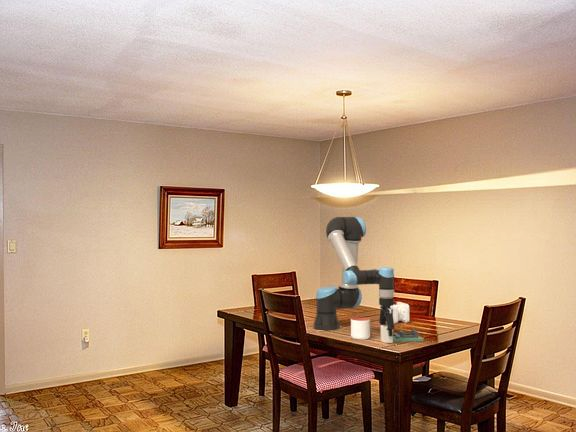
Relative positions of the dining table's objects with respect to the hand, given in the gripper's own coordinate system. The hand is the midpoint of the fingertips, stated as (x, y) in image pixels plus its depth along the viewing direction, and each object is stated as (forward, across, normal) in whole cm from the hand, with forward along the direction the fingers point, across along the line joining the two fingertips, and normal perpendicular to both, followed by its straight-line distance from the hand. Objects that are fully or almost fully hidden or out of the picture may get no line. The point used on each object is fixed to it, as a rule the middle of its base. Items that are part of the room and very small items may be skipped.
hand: (386, 340), depth 287 cm
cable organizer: (+1, +53, -22) cm, 57 cm away
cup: (+1, +9, +12) cm, 15 cm away
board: (+1, +5, -11) cm, 12 cm away
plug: (+1, 0, 0) cm, 1 cm away
